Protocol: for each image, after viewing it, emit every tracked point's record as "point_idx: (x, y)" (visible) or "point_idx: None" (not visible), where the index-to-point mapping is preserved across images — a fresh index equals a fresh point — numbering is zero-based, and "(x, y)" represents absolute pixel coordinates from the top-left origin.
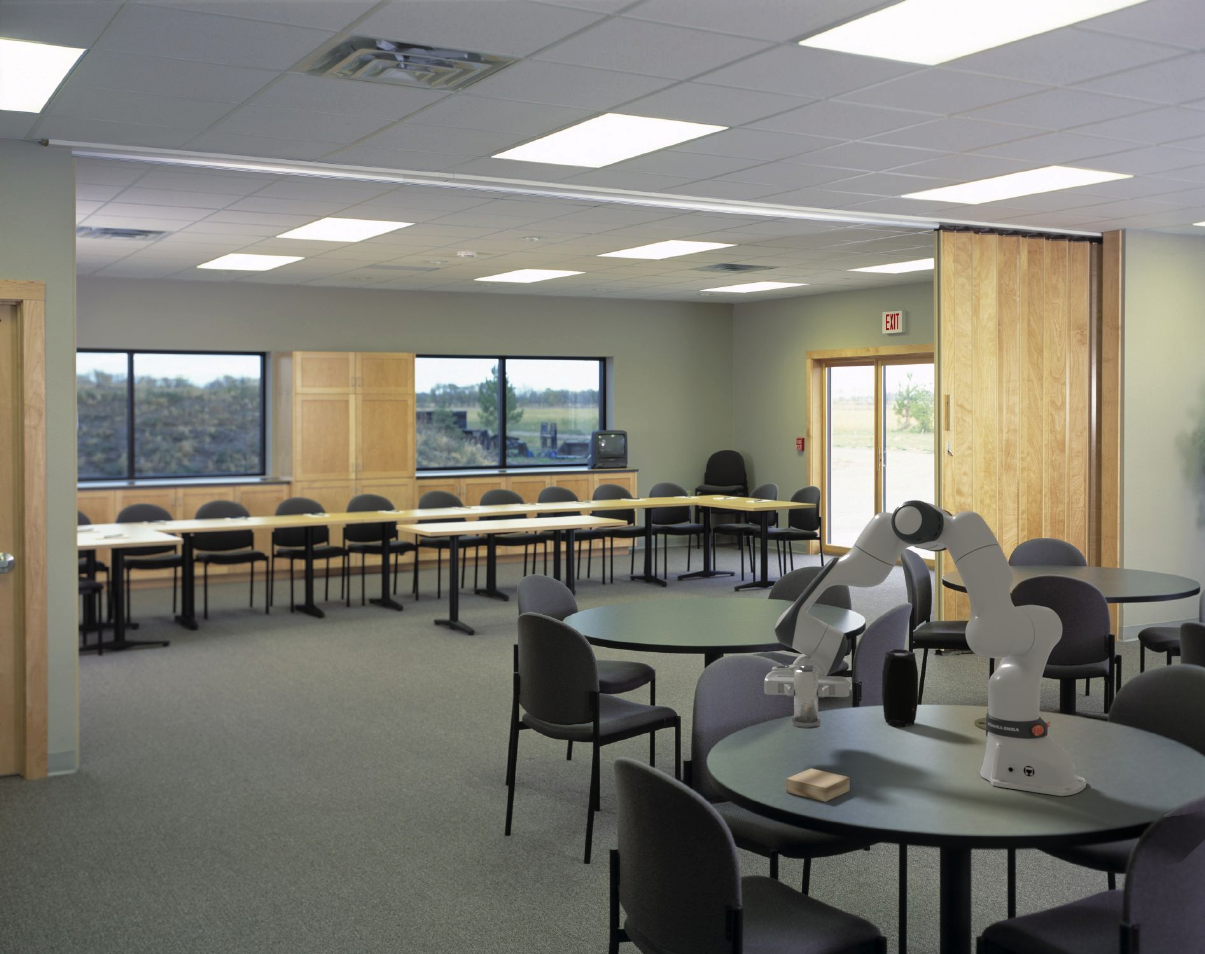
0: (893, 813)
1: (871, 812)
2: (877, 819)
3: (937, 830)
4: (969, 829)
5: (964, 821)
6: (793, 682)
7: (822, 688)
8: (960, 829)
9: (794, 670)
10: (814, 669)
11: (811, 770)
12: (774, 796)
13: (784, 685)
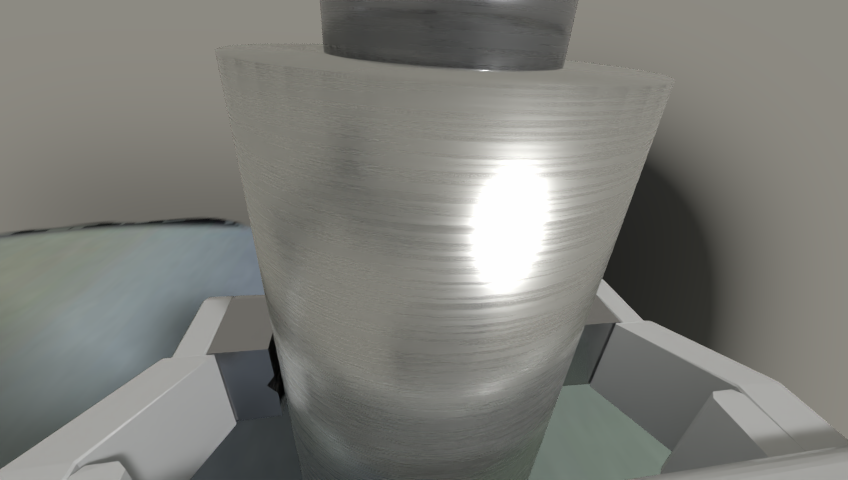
0: (200, 267)
1: (244, 265)
2: (244, 246)
3: (155, 231)
4: (89, 239)
5: (67, 261)
6: (739, 466)
7: (203, 348)
8: (107, 238)
9: (595, 65)
10: (280, 57)
11: None
12: None
13: (746, 368)
